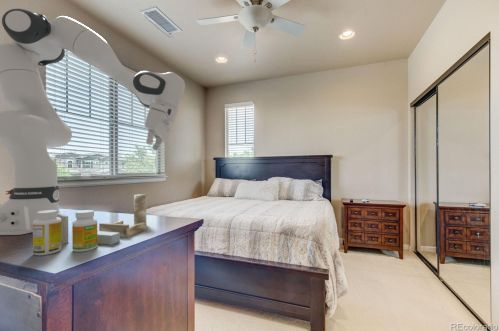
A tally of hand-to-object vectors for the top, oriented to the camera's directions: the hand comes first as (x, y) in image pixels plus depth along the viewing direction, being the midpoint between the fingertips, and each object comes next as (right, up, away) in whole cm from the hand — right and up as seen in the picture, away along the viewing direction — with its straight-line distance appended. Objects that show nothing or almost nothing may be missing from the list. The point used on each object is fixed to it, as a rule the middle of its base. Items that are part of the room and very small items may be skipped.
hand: (151, 147), depth 93 cm
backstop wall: (-6, -28, -23) cm, 37 cm away
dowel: (-2, -28, -5) cm, 29 cm away
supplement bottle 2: (-6, -29, -29) cm, 41 cm away
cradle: (-4, -28, -13) cm, 31 cm away
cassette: (-19, -29, -21) cm, 40 cm away
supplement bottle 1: (-14, -29, -31) cm, 45 cm away
